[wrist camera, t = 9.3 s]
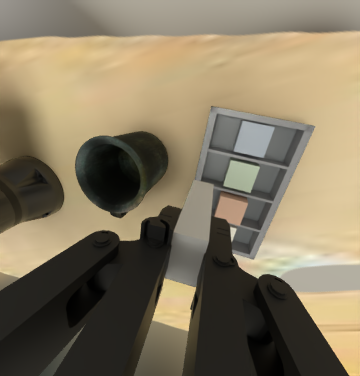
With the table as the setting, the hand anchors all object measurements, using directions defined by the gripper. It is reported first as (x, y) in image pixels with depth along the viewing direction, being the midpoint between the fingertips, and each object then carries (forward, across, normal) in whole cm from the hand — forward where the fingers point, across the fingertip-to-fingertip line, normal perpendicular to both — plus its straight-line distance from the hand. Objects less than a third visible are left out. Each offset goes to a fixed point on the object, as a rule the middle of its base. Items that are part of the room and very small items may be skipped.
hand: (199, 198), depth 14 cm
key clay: (+17, +5, -8) cm, 20 cm away
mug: (+21, -12, -6) cm, 25 cm away
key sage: (+19, +6, -2) cm, 20 cm away
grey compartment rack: (+20, +6, -5) cm, 22 cm away
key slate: (+18, +6, +3) cm, 20 cm away
